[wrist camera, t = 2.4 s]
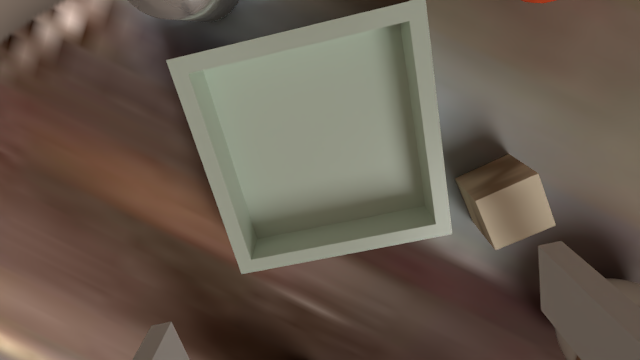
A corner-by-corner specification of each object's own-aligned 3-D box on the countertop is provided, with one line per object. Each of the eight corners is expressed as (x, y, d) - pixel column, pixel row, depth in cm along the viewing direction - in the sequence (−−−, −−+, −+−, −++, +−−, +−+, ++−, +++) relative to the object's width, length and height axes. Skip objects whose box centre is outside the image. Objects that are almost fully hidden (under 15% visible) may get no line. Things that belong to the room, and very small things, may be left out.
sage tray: (410, 2, 29) (425, -3, 25) (436, 210, 36) (452, 234, 31) (187, 56, 31) (166, 60, 27) (250, 246, 37) (241, 274, 33)
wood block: (508, 153, 34) (538, 173, 29) (524, 199, 35) (555, 225, 31) (454, 178, 35) (475, 201, 30) (473, 222, 36) (495, 250, 32)
